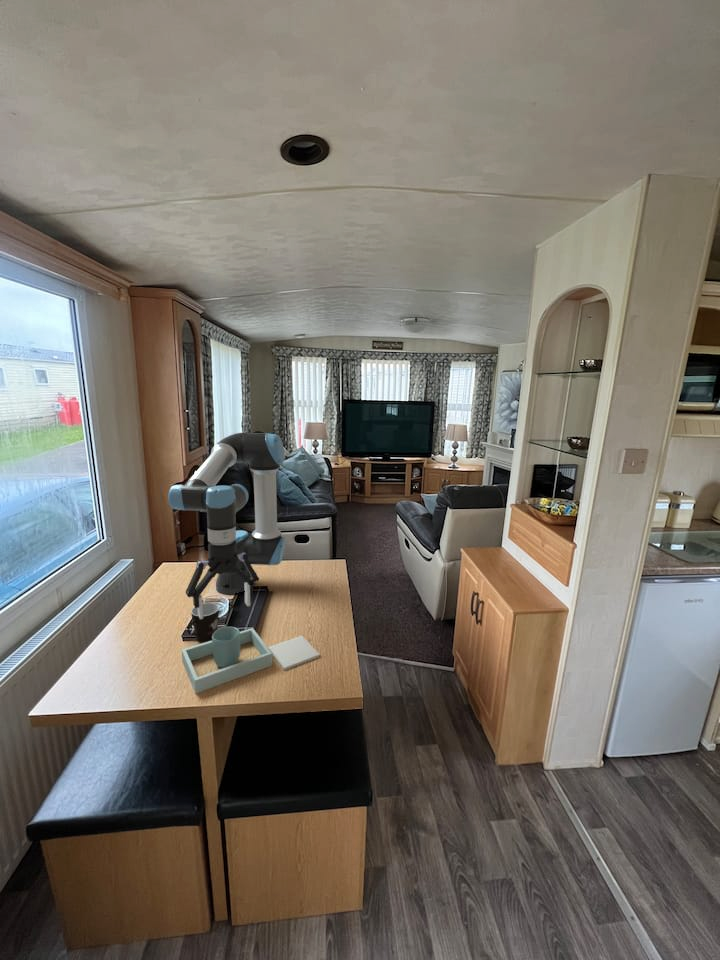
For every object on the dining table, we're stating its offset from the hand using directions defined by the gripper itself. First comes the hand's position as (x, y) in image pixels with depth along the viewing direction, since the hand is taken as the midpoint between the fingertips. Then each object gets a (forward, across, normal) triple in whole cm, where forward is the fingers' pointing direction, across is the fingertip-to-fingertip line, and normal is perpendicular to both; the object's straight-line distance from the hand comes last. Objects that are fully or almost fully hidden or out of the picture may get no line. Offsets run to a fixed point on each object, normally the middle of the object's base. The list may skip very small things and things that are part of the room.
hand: (224, 610), depth 118 cm
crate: (+18, 0, 0) cm, 18 cm away
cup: (+18, 0, 0) cm, 18 cm away
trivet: (+18, +19, -6) cm, 27 cm away
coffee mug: (+18, -3, +17) cm, 25 cm away
